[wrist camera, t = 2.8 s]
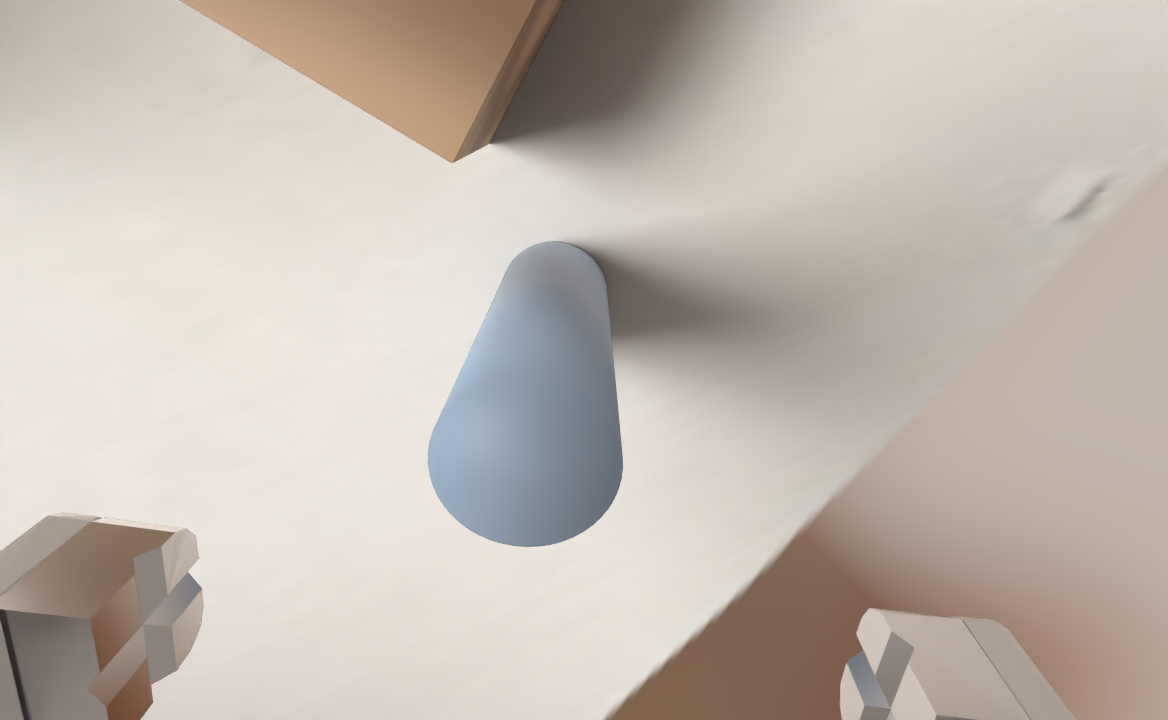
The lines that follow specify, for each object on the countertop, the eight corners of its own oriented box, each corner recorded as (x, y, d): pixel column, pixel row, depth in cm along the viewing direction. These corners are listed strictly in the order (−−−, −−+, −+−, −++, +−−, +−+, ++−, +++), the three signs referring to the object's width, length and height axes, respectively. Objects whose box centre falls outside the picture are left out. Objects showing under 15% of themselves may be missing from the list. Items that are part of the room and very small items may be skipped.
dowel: (572, 361, 23) (560, 575, 13) (483, 311, 23) (394, 493, 12) (627, 276, 22) (661, 435, 12) (534, 221, 22) (485, 339, 11)
